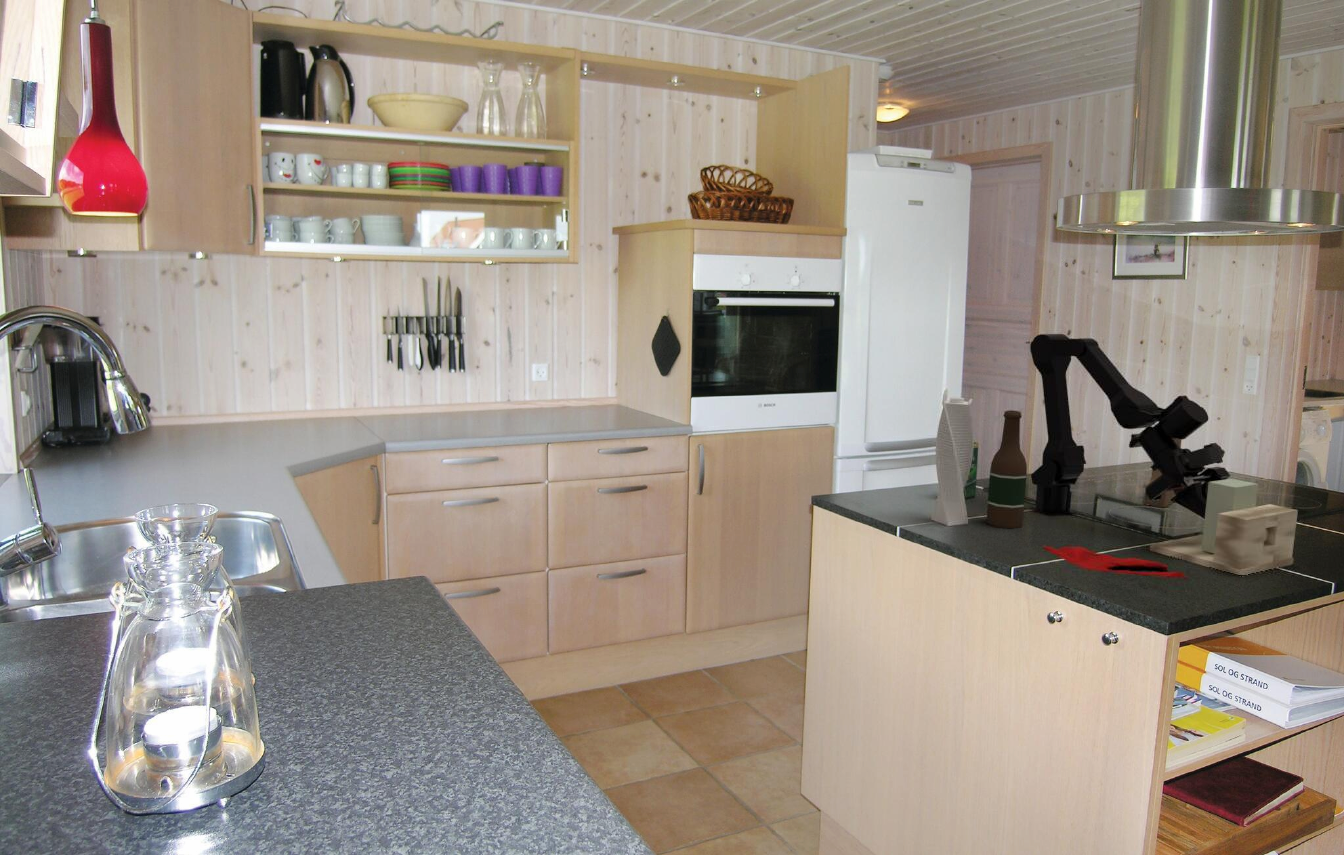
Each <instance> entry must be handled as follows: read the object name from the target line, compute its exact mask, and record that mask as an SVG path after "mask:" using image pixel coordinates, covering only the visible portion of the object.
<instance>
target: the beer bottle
mask: <svg viewBox="0 0 1344 855" xmlns="http://www.w3.org/2000/svg"><path fill="white" fill-rule="evenodd" d="M1022 417H1023V415H1022V412H1021V411H1019V410H1005V411H1004V414H1003V418H1004V422H1003V430H1002V436H1001V442H1000V446H999V448H998V450H997V451H996V453H995V454H994V456H993V457H992V460H991V464H990V470H989V479H988V482H989V483H988V494H987V507H986V524H987V525H990V526H992V527H996V528H1002V529H1003V528H1005V529H1018V528H1022V527H1023V521H1024V515H1025V514H1024V511H1025V500H1026V488H1027V476H1028V475H1027V474H1028V472H1027V470H1028V468H1027V464H1028V463H1027V460H1026V457H1025V455H1024V454H1023V452H1022V450H1021V444H1020V443H1021V442H1020V441H1021V437H1020V433H1021V430H1020V429H1021V419H1022Z"/></svg>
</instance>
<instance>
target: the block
mask: <svg viewBox="0 0 1344 855" xmlns="http://www.w3.org/2000/svg"><path fill="white" fill-rule="evenodd" d="M1258 487H1259V484H1258V483H1255V482H1250V481H1245V480H1240V479H1234V478H1228V479H1226V480H1219V481H1212V482H1209V484H1208V494H1207V503H1206V512H1205V519H1204V522H1203V532H1202V535H1203V539H1202V548H1201V550H1203V551H1207V552H1211V553H1214V548H1215V539H1216V530H1217V521H1218V513H1224V512H1229V511H1235V510H1240V509H1246V508H1252V507H1257V496H1258V489H1259V488H1258ZM1267 536H1268V531H1267V529H1265V536H1264V541H1265V540H1266V539H1267Z"/></svg>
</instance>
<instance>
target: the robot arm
mask: <svg viewBox="0 0 1344 855" xmlns="http://www.w3.org/2000/svg"><path fill="white" fill-rule="evenodd" d="M1029 350H1030V356H1031V359H1032V364H1033V365H1034V367H1036V369H1037V371H1038V372H1039V375H1041V382H1042V392H1043V402H1044V410H1045V411H1044V412H1045V422H1046V431H1047V442H1046V445H1045V448H1044V449H1043V452H1042V457H1041V458H1042V459H1041V460H1042V461H1041V463H1042V464H1041V465H1040V466H1039V467H1038V468H1037V469H1036V470H1034V471H1033V472H1032V473H1031V474H1030V479H1031V481H1032V483H1031V484H1032V485H1036V493H1035V505H1031V506H1030V507H1031V509H1033V510H1036V511H1037V512H1039V513H1042V514H1044V515H1054V516H1055V515H1072V514H1073V511H1072V510H1071V504H1072V491H1071V486H1072V485H1073V486H1074V485H1076V483H1077V481H1078V479H1079V477H1080V476H1081V475H1082V473H1084V470H1085V465H1087V461H1086V458H1085V447H1084V445H1083V444H1081V445H1077V443H1076V441H1075V440H1074V438H1073V432H1072V422H1071V414H1070V412H1071V411H1070V403H1069V402H1070V401H1069V393H1068V384H1067V371H1068V368H1069V366H1070V364H1071V362H1072V357H1075V358H1076V359H1077V360H1078V362H1079V363H1080V364H1081V366H1083V368H1084V369H1085V371H1086V372H1087V373H1088V374H1089V375H1090V377H1091V378H1092V379H1093V380H1094V381H1095V383H1096V384H1097V386H1098V387H1100V390H1102V392H1103V393H1104V394H1105V396H1106V397H1107V399H1108V400H1109V404H1110V405H1109V406H1110V411H1111V413H1112V415H1113V416H1114V418H1115V420H1116V422H1117V424H1118V425H1119V426H1120V427H1121V428H1123V429H1126V430H1138V429H1143V430H1141V432H1139V433H1132V434H1131V435H1130V441H1129V442H1128V443H1129V444H1128V447H1129V449H1132V448H1134V449H1135V448H1140V447H1141V448H1142V449H1143V450H1144V452H1145V453H1146V455H1147V456H1148V457H1149V459H1150V460H1151V462H1152V465H1151V466H1150V468H1151V469H1152V470H1153V471H1157V470H1159V472H1160V473H1161V476H1159V477H1158V478H1157V479H1156V480H1154V481H1153V482H1152V483H1150V484H1149V485H1148V486H1146V485H1145V487H1144V488H1145V489H1144V496H1145V495H1146V496H1147V498H1148V499H1149V500H1150V502H1152V501H1158V500H1160V499H1161V494H1162V493H1164V492H1165V491H1171V490H1173V491H1174V495H1175V496H1174V497H1173V498H1172V499H1171V502H1173V503H1175V504H1176V505H1177V504H1178V505H1179V506H1180V507H1183V508H1185V509H1186V510H1188V511H1191V512H1192V513H1193V514H1196V515H1197V516H1199V517H1200V518H1202V519H1204V520H1205V512H1206V503H1207V494H1208V484H1209V482H1212V481H1219V480H1226V479H1230V478H1231V475H1230V473H1229V472H1228V471H1227V469H1226V468H1225V467H1221V466H1215V467H1214V466H1212V467H1208V468H1206V466H1210V465H1214V464H1221V463H1223V462H1224V461H1223V458H1224V456H1225V453H1226V452H1225V450H1224V449H1222V447H1221V446H1220V445H1219V444H1218V443H1217V442H1212V443H1209V444H1204V445H1203V448H1199V449H1196V450H1192V451H1191V449H1189V448H1182V446H1181V447H1180V446H1179V444H1178V443H1177V442H1176V440H1175V439H1176V438H1178V439H1181V441H1182V440H1185V439H1187V438H1188V437H1189V436H1191V435H1192V434H1194V432H1196V431H1197V430H1199V429H1201V427H1202V426H1204V424H1206V423H1207V422H1208V421H1209V415H1208V412H1207V411H1206V409H1205V408H1204V407H1203V406H1200V405H1199V404H1198V403H1197V402H1195V401H1193V400H1191V399H1189V397H1188V396H1187V395H1178V396H1177V397H1176V398H1175V399H1174V400H1173V401H1172V403H1170V404H1169V405H1168V406H1167V407H1165V408H1163V407H1160V406H1158V404H1156V403H1155V402H1154V400H1152V399H1151V398H1150V397H1149V396H1148V395H1146V394H1145V393H1143V392H1142V391H1140V390H1139V389H1137V388H1135V387H1133V386H1132V385H1131V384H1130V382H1128V380H1126V378H1125V377H1124V376H1123V375H1122V373H1121V372H1120V371H1119V370H1118V368H1117V366H1115V365H1114V364H1113V362H1112V361H1111V359H1109V357H1108V356H1107V355H1106V353H1105V352H1104V351H1103V349H1101V348H1100V345H1099V343H1098V341H1097V340H1096V339H1093V338H1091V337H1089V338H1069V336H1067V335H1066V334H1064V333H1045V334H1043V333H1039V334H1037V335H1035V337H1034V338H1033V339H1032V341H1031V342H1030V347H1029ZM1153 463H1154V464H1153Z"/></svg>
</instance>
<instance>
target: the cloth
mask: <svg viewBox="0 0 1344 855" xmlns="http://www.w3.org/2000/svg"><path fill="white" fill-rule="evenodd" d="M1042 549H1045V550H1047V552H1050V553H1052V554H1053V555H1055V556H1057V557H1058V558H1061V559H1063V560H1065V561H1067V562H1068V563H1071V564H1074V565H1076V566H1078V567H1080V568H1082V567H1083V568H1082V569H1084V568H1085V569H1084V570H1087V569H1089V570H1088V571H1097V570H1098V571H1097V572H1102V571H1106V572H1105V573H1110V572H1116V573H1115V574H1125V573H1129V574H1128V575H1133V574H1138V575H1137V576H1147V575H1160V576H1159V577H1162V576H1164V577H1163V578H1172V577H1185V578H1188V577H1187V576H1186V575H1184V574H1183V573H1182V572H1180V571H1174V572H1168V571H1169V566H1168V565H1166V564H1163V563H1161V562H1156V561H1153V560H1152V561H1151V560H1146V559H1141V558H1134V557H1133V558H1132V557H1128V558H1126V559H1125V558H1120V557H1115V556H1111V555H1107V554H1105V553H1104V554H1101V553H1096V552H1094V551H1091V550H1088V549H1087V548H1084V547H1081V546H1063V547H1060V548H1059V549H1055V548H1054V547H1052V546H1042ZM1096 567H1097V568H1096ZM1117 567H1122V568H1131V569H1133V568H1134V569H1142V568H1143V569H1144V568H1146V569H1147V568H1148V569H1149V568H1150V569H1151V568H1153V569H1154V568H1155V569H1160V570H1163V569H1165V570H1164V571H1163V572H1132V571H1130V570H1131V569H1126V570H1119V569H1118V568H1117ZM1114 568H1117V569H1114ZM1095 569H1097V570H1095ZM1109 569H1112V570H1114V571H1111V570H1109ZM1116 570H1117V571H1116ZM1167 570H1168V571H1167Z"/></svg>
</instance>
